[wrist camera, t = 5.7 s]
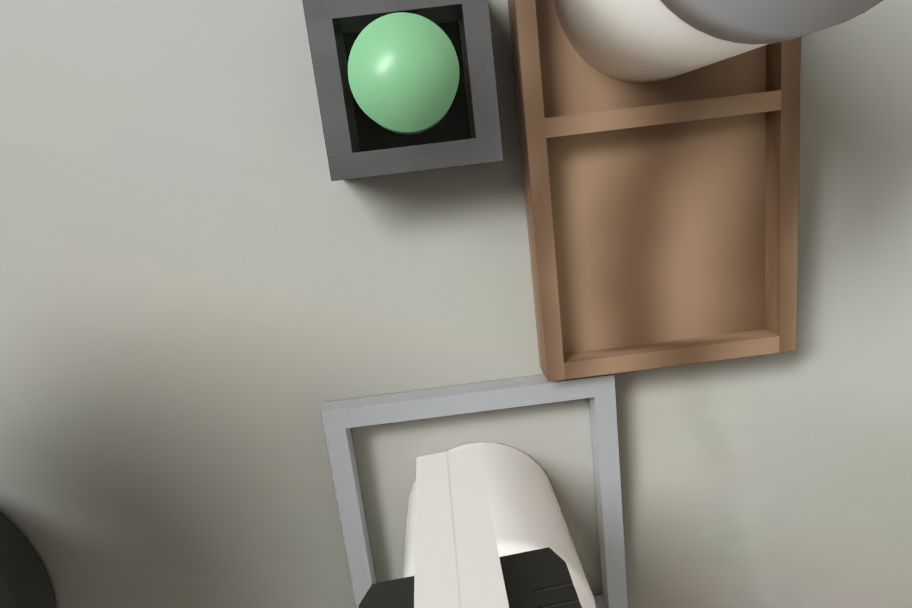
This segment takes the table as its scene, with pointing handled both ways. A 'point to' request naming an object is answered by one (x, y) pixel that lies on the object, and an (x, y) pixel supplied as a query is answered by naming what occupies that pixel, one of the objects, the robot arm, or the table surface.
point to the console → (327, 19)
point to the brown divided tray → (657, 205)
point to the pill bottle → (516, 513)
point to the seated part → (688, 31)
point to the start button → (404, 73)
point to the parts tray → (470, 400)
